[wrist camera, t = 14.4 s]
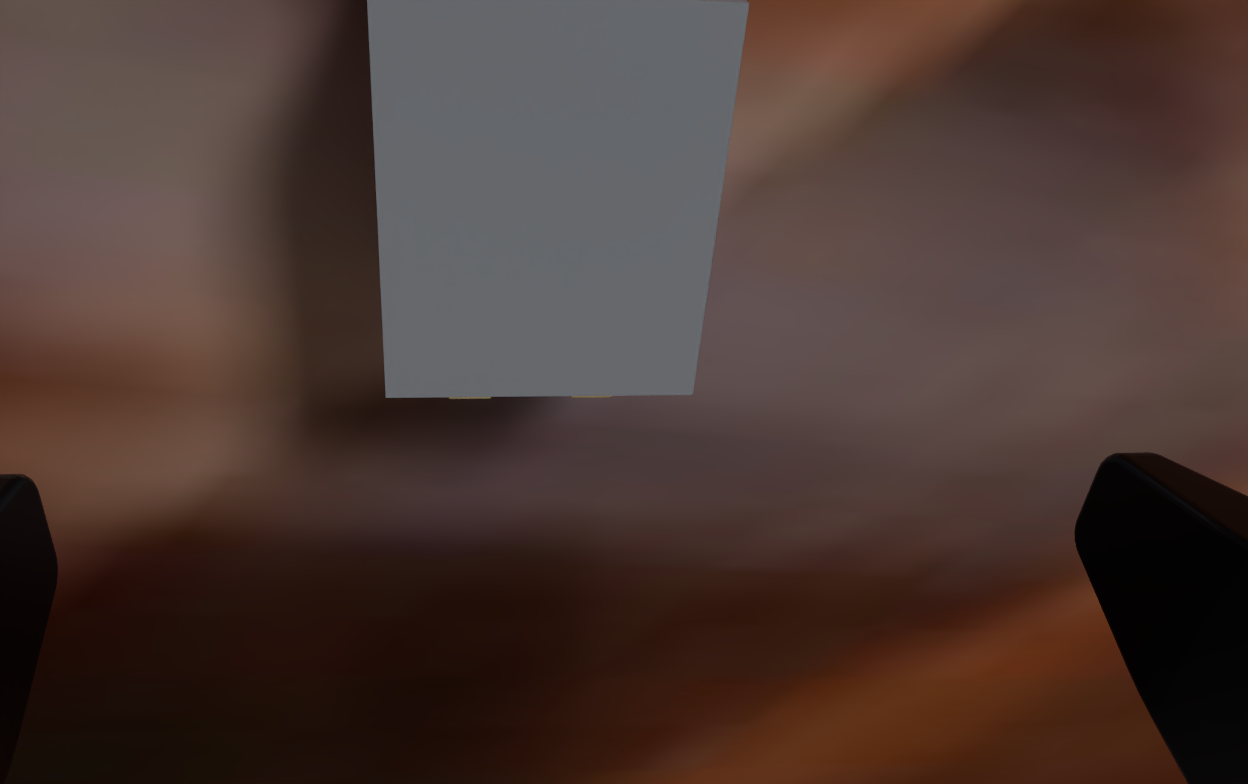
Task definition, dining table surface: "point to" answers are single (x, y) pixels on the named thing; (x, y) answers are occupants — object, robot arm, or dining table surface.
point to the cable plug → (548, 191)
